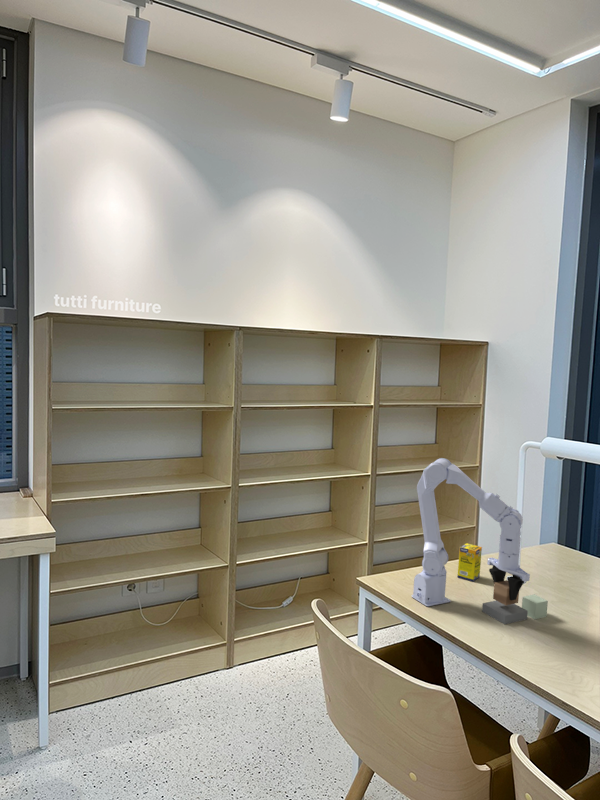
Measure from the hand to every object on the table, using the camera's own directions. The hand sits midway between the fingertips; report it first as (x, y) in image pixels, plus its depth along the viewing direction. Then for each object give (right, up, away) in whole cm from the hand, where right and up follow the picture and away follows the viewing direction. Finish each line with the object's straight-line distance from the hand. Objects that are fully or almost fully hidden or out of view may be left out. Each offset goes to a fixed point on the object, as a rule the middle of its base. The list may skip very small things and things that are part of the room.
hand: (505, 596), depth 177 cm
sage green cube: (+9, -6, +2) cm, 11 cm away
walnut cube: (0, -2, 0) cm, 2 cm away
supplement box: (-3, -4, +29) cm, 30 cm away
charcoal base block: (0, -6, +1) cm, 6 cm away
